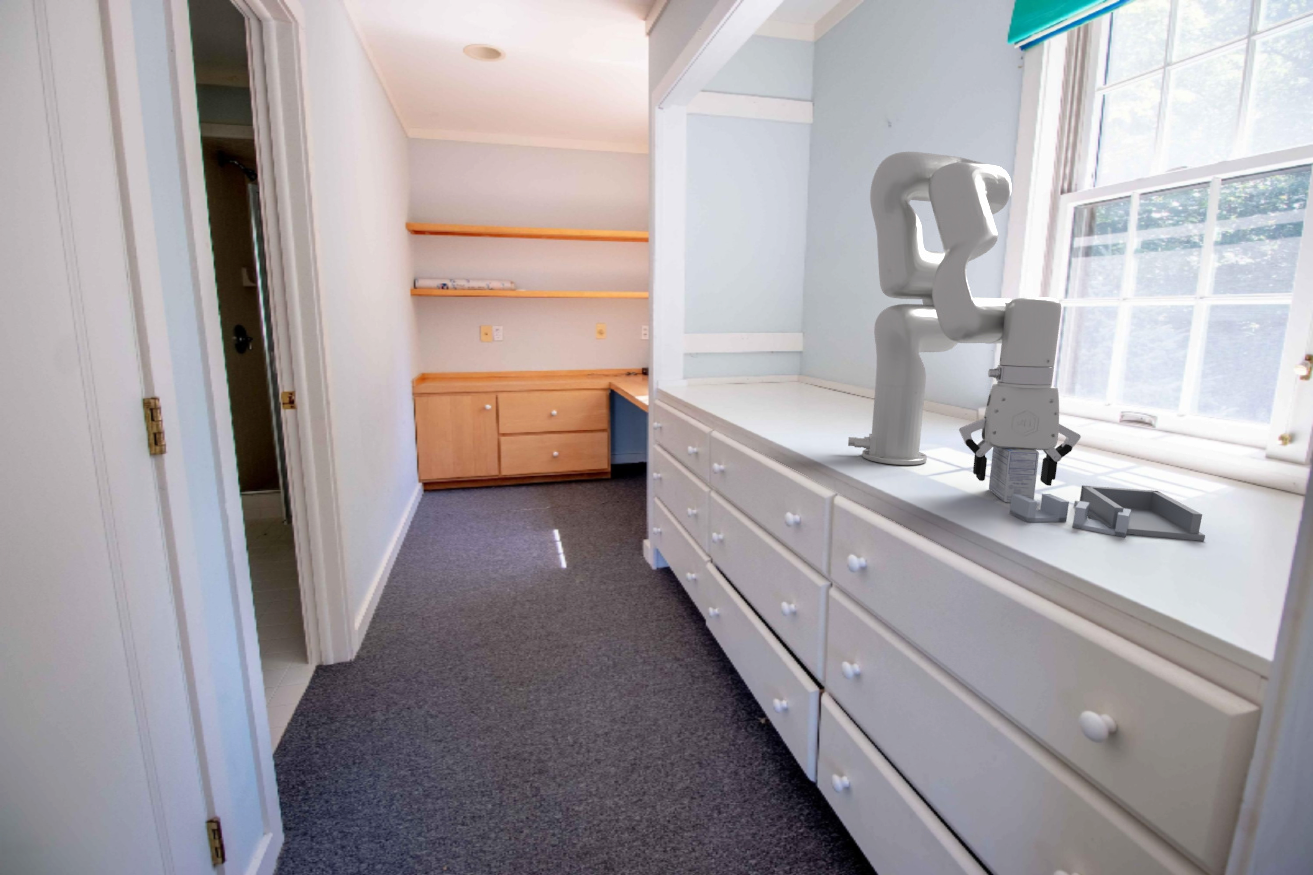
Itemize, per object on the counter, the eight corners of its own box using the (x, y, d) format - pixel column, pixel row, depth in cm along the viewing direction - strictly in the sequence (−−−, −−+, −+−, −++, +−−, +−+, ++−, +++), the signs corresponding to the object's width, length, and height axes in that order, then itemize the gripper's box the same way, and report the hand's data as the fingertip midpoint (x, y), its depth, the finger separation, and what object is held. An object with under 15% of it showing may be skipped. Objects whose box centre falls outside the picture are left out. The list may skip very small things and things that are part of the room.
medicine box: (1033, 504, 98) (1040, 451, 96) (1003, 503, 98) (1009, 450, 97) (1015, 491, 105) (1022, 441, 104) (987, 489, 106) (993, 440, 104)
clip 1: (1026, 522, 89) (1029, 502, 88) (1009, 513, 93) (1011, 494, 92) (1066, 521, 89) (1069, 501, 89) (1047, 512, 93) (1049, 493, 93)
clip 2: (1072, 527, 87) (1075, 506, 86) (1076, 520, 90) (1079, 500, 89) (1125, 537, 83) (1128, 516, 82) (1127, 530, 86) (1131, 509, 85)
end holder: (1108, 532, 85) (1112, 508, 84) (1074, 505, 97) (1077, 484, 97) (1204, 541, 82) (1208, 515, 81) (1156, 512, 94) (1159, 490, 94)
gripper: (970, 377, 97) (959, 482, 100) (1096, 381, 92) (1081, 491, 95) (960, 373, 104) (951, 472, 107) (1078, 377, 99) (1064, 479, 102)
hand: (1012, 481), depth 101 cm, fingers open, 9 cm apart
